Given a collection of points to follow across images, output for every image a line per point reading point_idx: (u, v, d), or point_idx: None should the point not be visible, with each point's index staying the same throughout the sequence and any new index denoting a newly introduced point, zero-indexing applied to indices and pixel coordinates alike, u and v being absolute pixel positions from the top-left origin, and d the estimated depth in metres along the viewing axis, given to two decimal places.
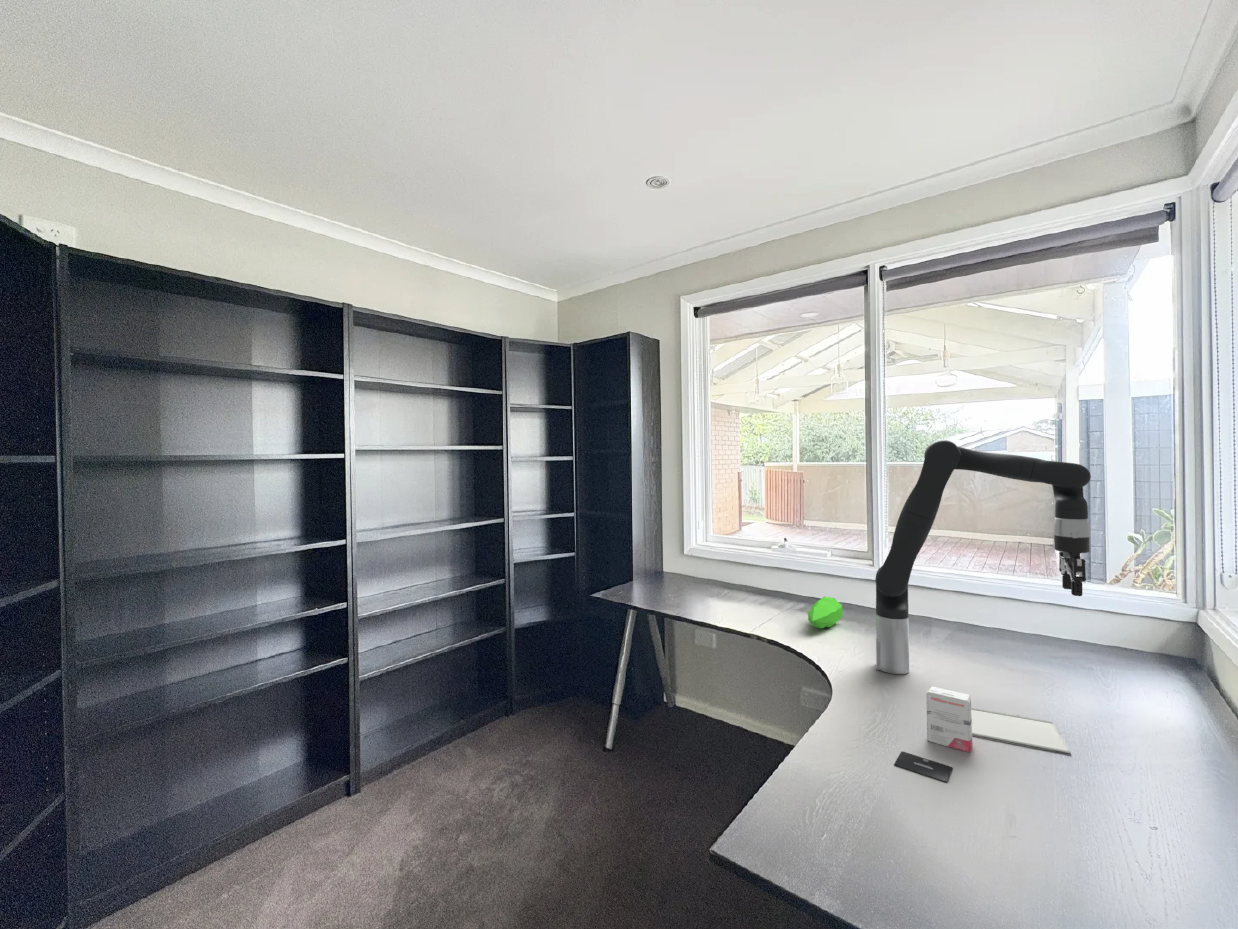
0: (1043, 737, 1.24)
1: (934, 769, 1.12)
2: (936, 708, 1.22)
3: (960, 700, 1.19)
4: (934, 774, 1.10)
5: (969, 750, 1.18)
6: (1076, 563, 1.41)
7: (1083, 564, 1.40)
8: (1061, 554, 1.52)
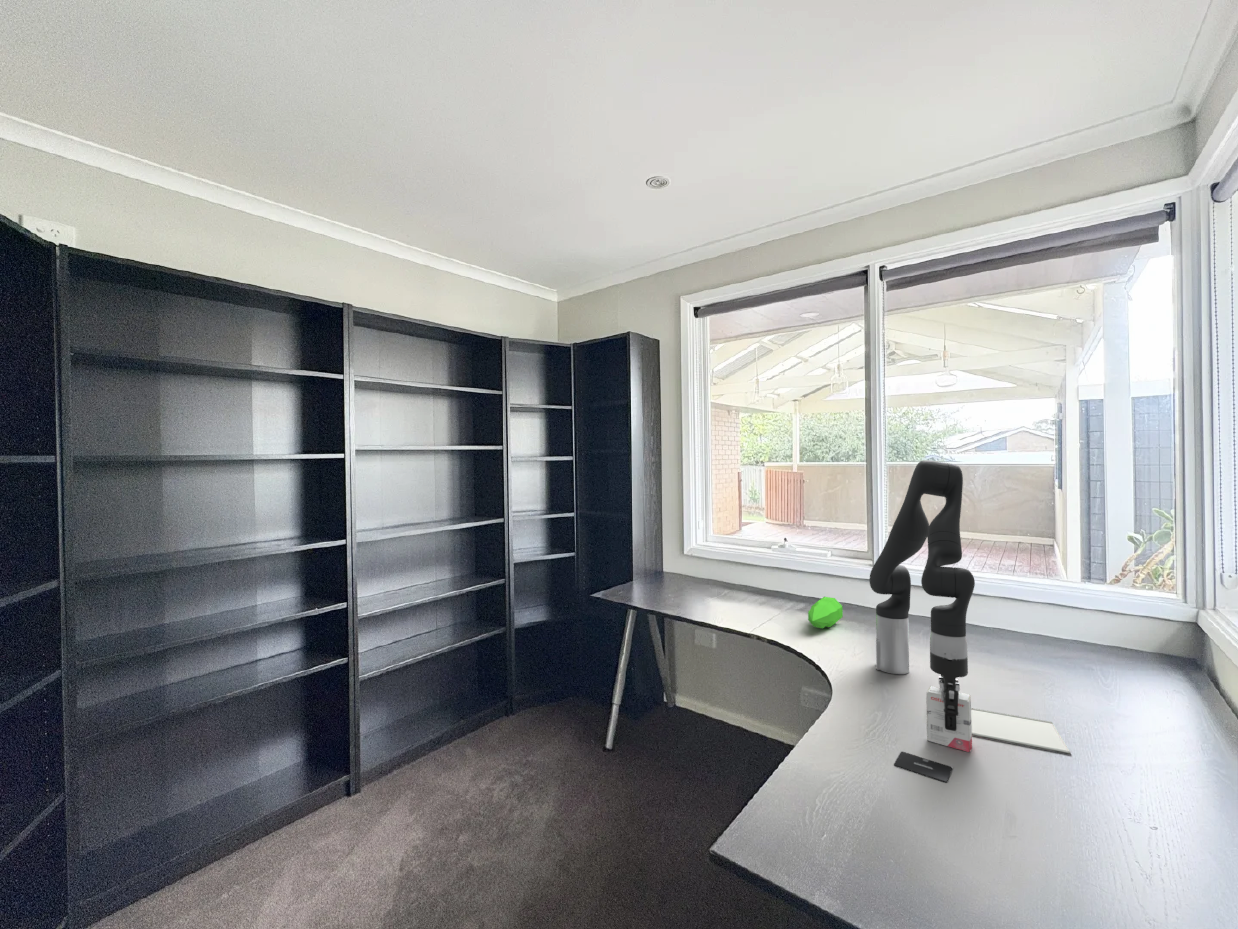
0: (1043, 737, 1.24)
1: (934, 769, 1.12)
2: (936, 708, 1.22)
3: (960, 700, 1.19)
4: (934, 774, 1.10)
5: (969, 750, 1.18)
6: (948, 696, 1.17)
7: (956, 698, 1.17)
8: None
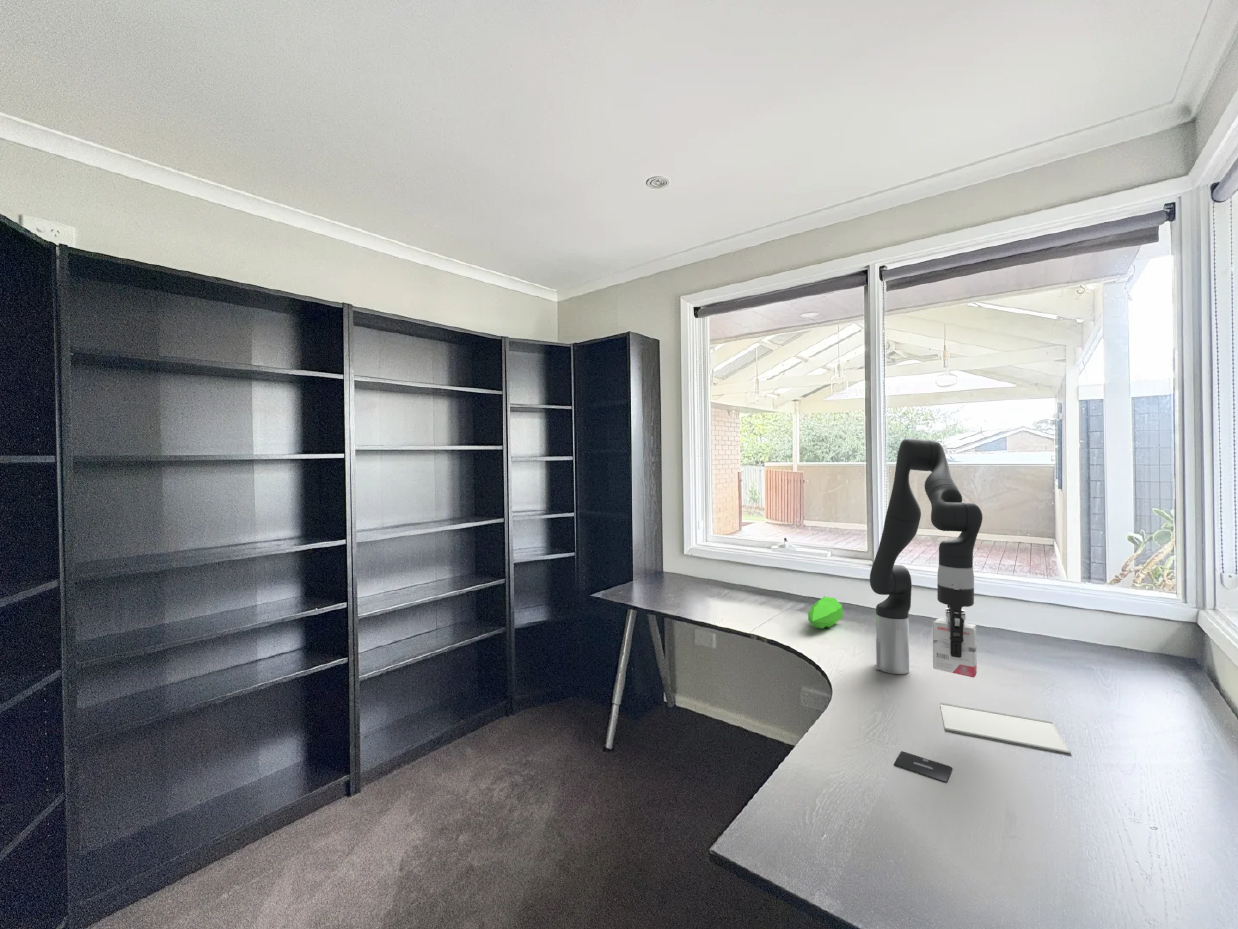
0: (1043, 737, 1.24)
1: (934, 769, 1.12)
2: (942, 637, 1.27)
3: (966, 628, 1.24)
4: (934, 774, 1.10)
5: (973, 675, 1.24)
6: (954, 623, 1.22)
7: (961, 625, 1.22)
8: (949, 606, 1.33)
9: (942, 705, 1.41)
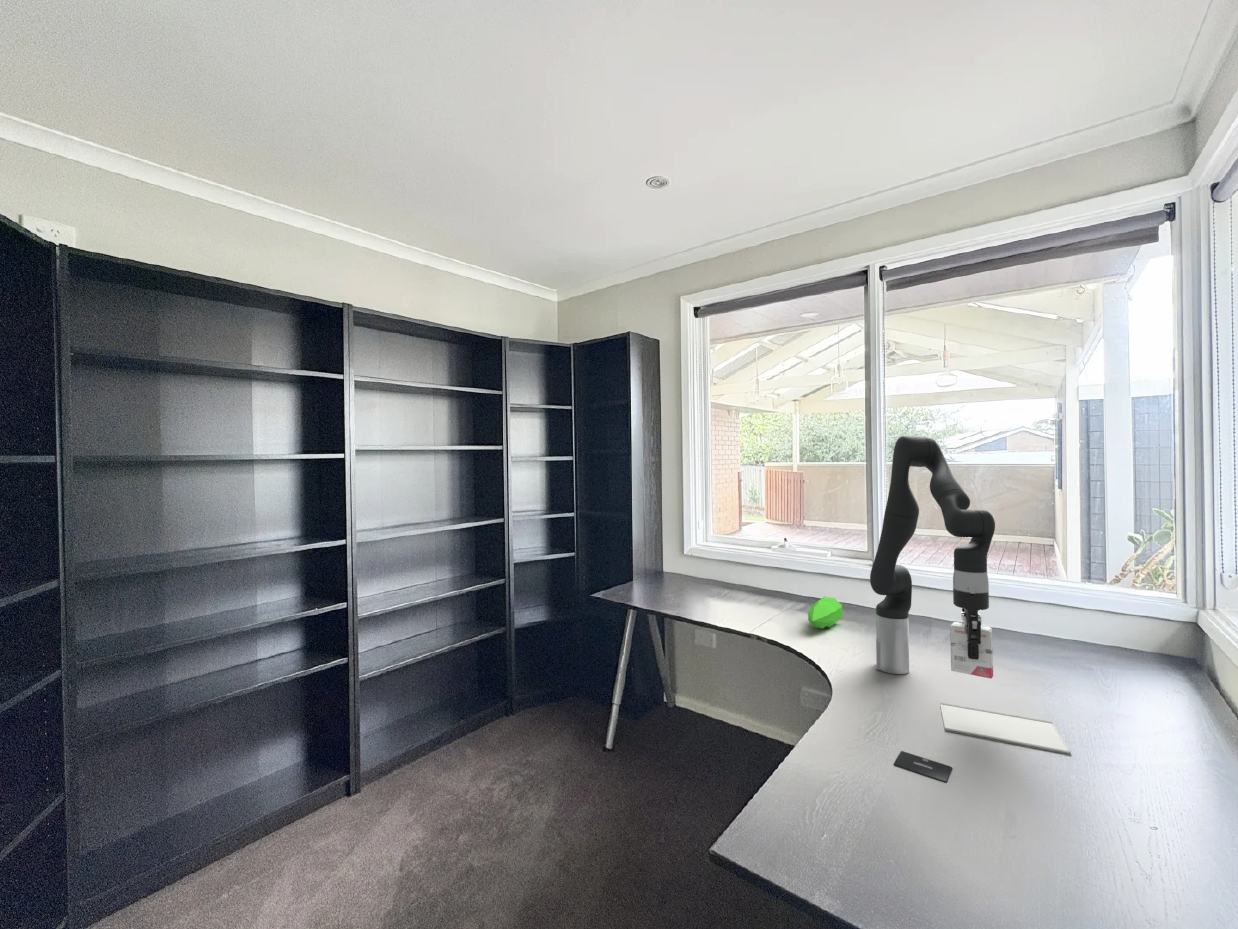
0: (1043, 737, 1.24)
1: (934, 768, 1.12)
2: (960, 640, 1.32)
3: (983, 631, 1.29)
4: (933, 774, 1.10)
5: (991, 676, 1.28)
6: (971, 626, 1.27)
7: (978, 627, 1.26)
8: (963, 610, 1.38)
9: (942, 705, 1.41)
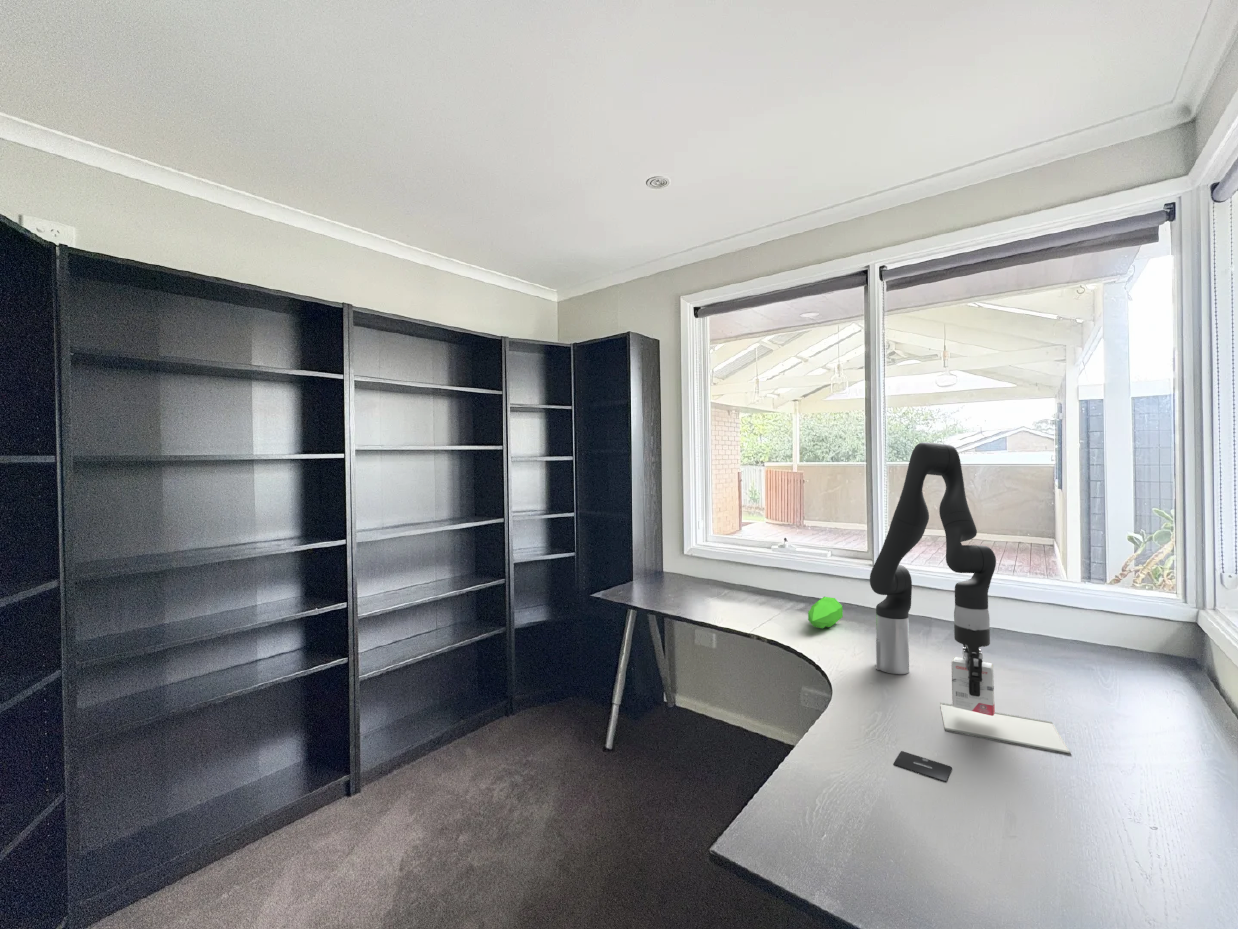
0: (1043, 737, 1.24)
1: (934, 768, 1.12)
2: (961, 676, 1.32)
3: (984, 668, 1.29)
4: (933, 773, 1.10)
5: (992, 714, 1.28)
6: (972, 663, 1.27)
7: (980, 665, 1.26)
8: (964, 645, 1.38)
9: (942, 705, 1.41)
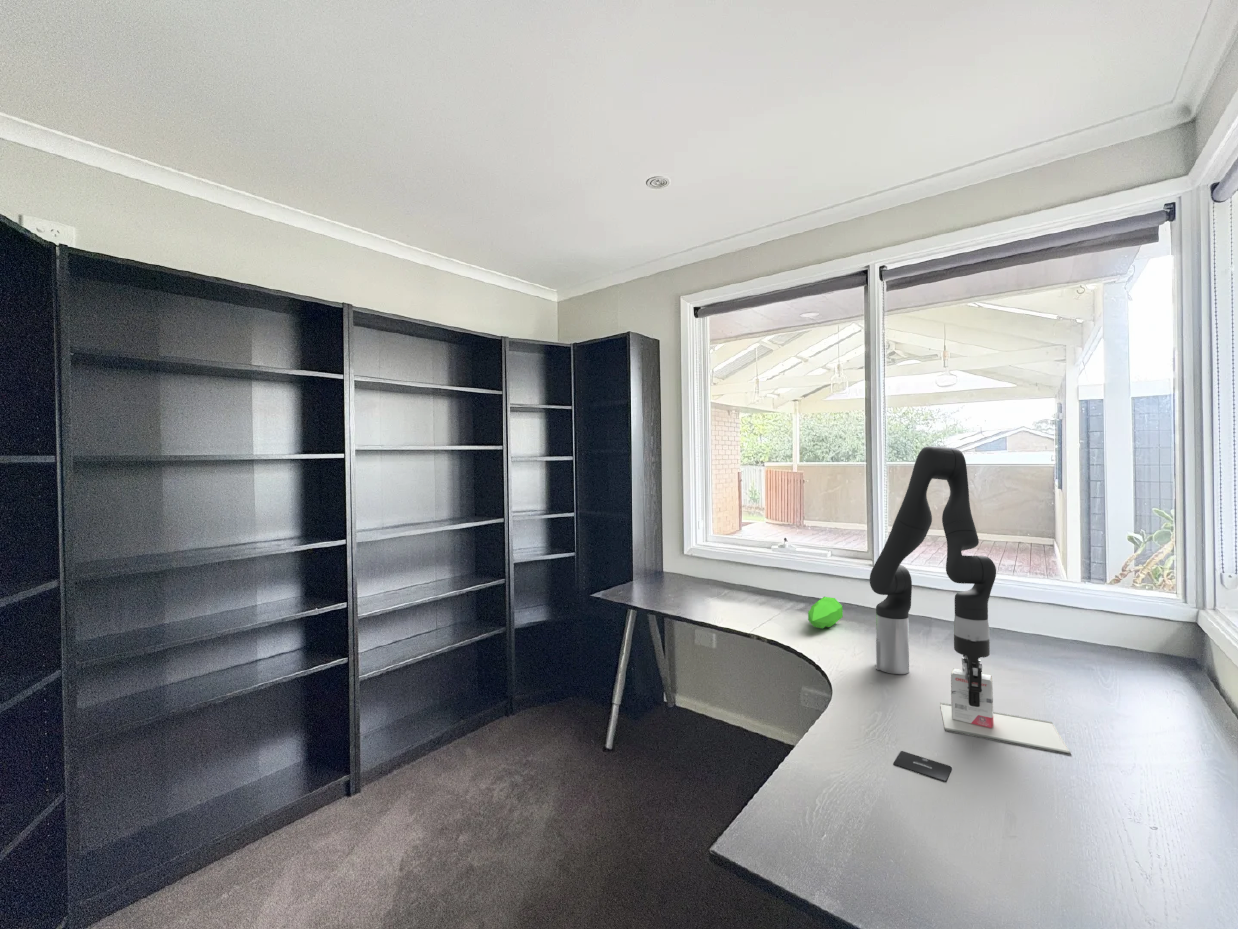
0: (1043, 737, 1.24)
1: (934, 768, 1.12)
2: (960, 688, 1.32)
3: (983, 680, 1.29)
4: (933, 773, 1.10)
5: (991, 726, 1.28)
6: (972, 673, 1.27)
7: (979, 674, 1.26)
8: None
9: (942, 705, 1.41)
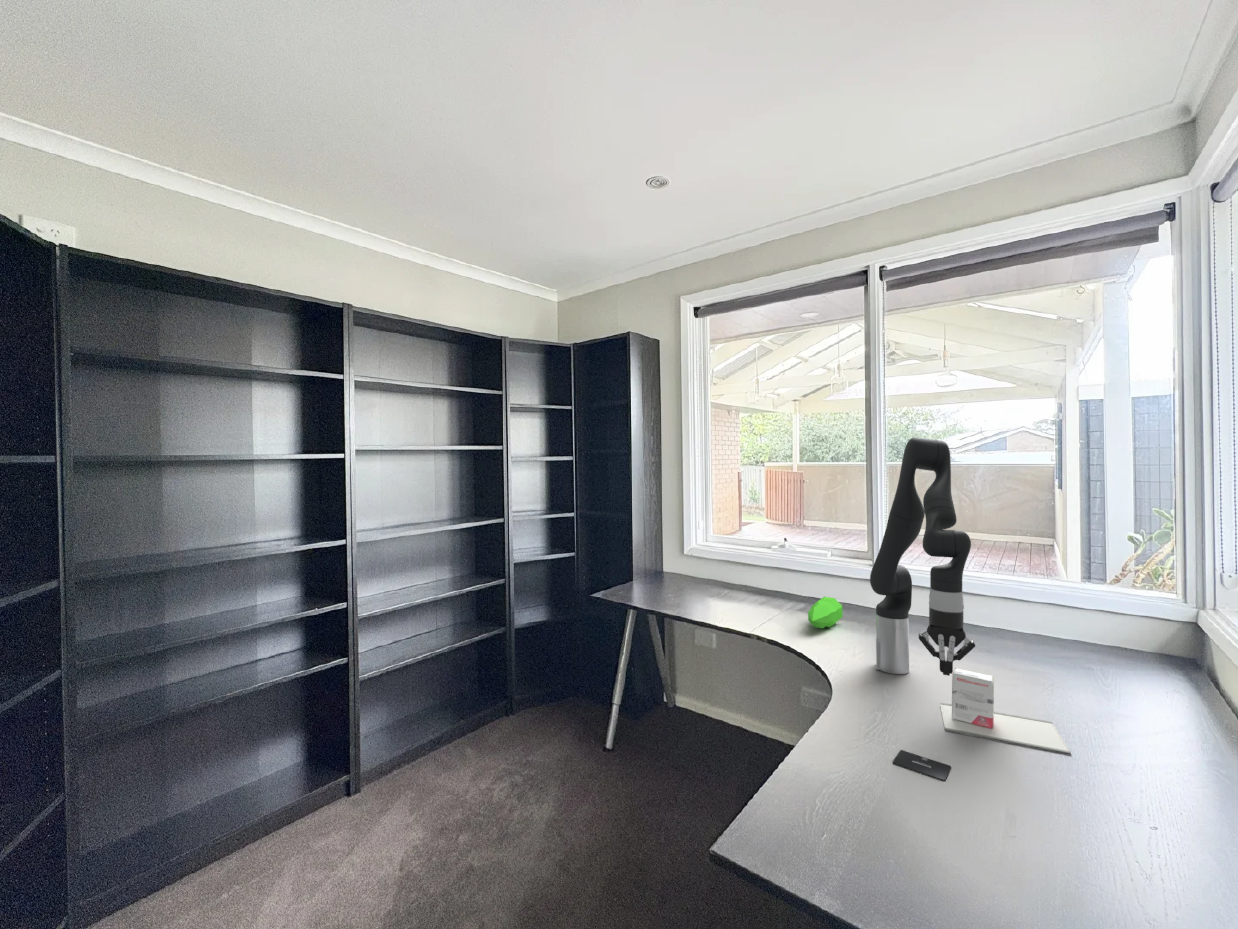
0: (1043, 737, 1.24)
1: (933, 767, 1.12)
2: (961, 688, 1.32)
3: (985, 681, 1.29)
4: (932, 772, 1.10)
5: (991, 726, 1.28)
6: None
7: None
8: None
9: (942, 705, 1.41)
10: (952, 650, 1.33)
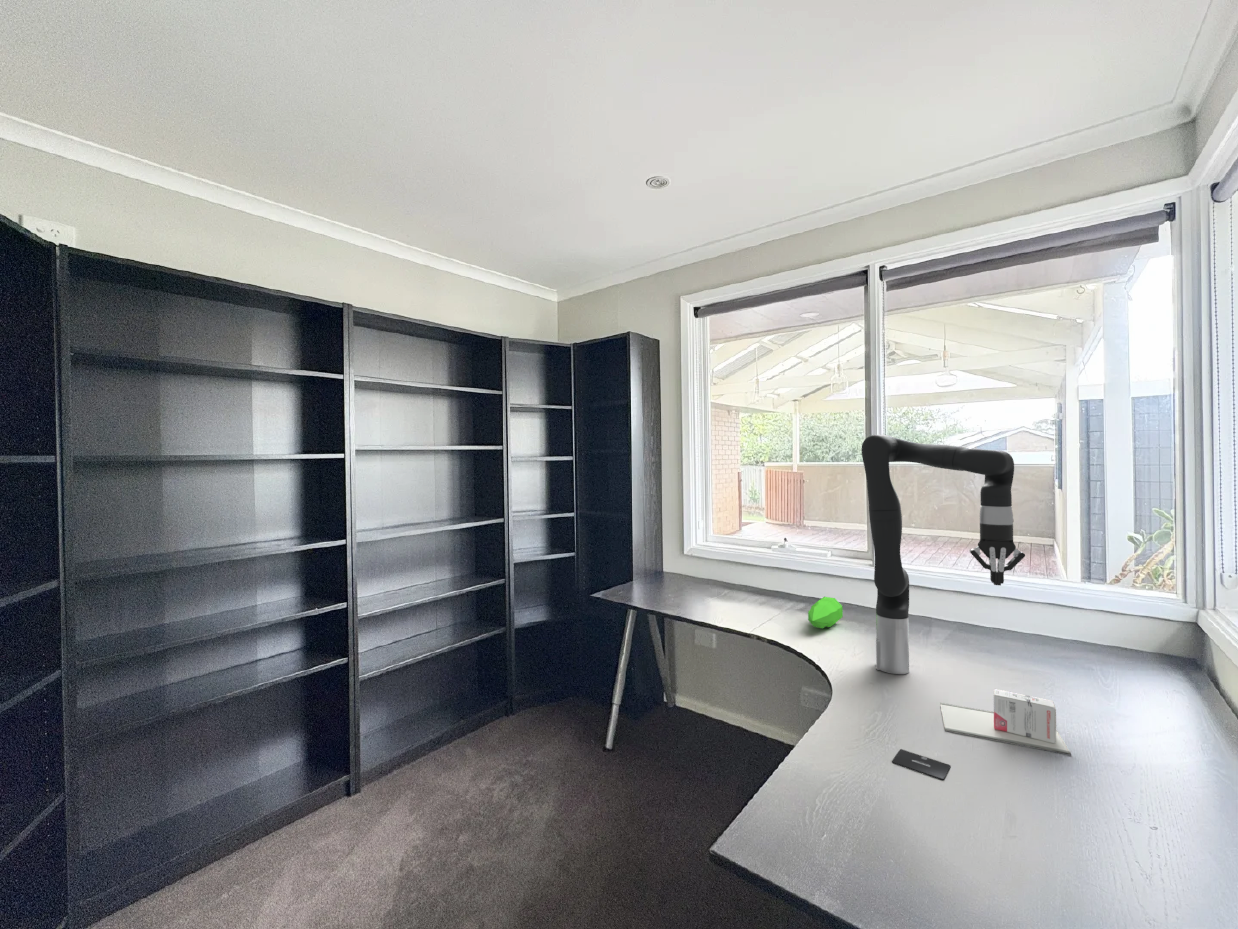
0: None
1: (932, 766, 1.13)
2: (1037, 713, 1.23)
3: (1054, 737, 1.21)
4: (931, 771, 1.11)
5: (996, 729, 1.28)
6: None
7: (973, 555, 1.46)
8: None
9: (942, 705, 1.41)
10: (1003, 561, 1.43)
